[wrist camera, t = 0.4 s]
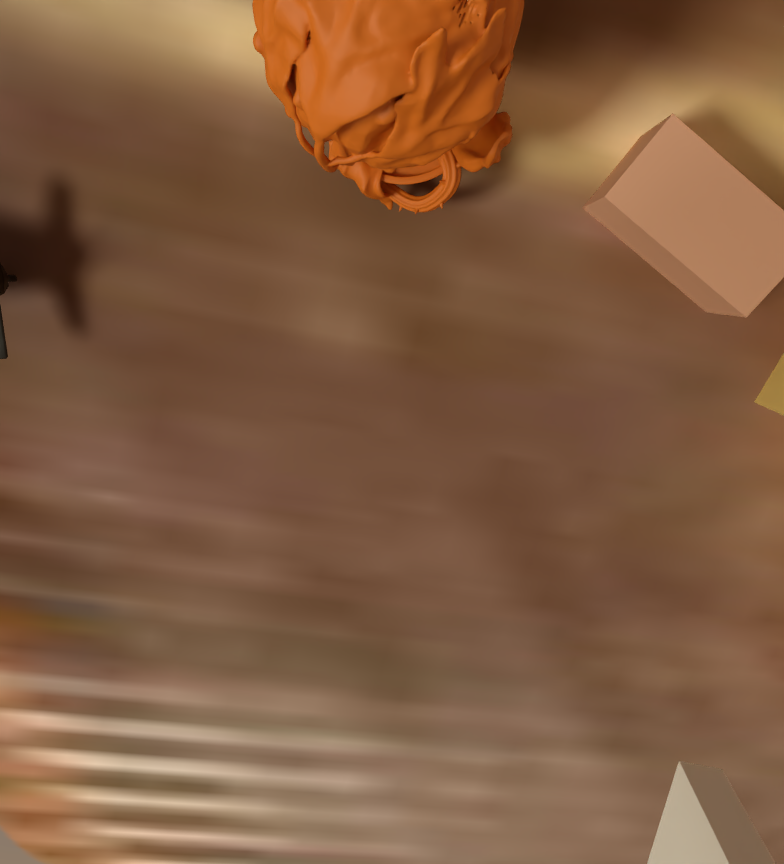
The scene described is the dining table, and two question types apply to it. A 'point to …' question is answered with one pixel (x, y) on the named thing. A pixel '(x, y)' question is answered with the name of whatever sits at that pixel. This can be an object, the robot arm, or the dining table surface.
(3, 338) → the airplane toy
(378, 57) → the orange lumpy upright piece
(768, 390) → the ochre brick
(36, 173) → the dining table surface
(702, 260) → the terracotta brick
